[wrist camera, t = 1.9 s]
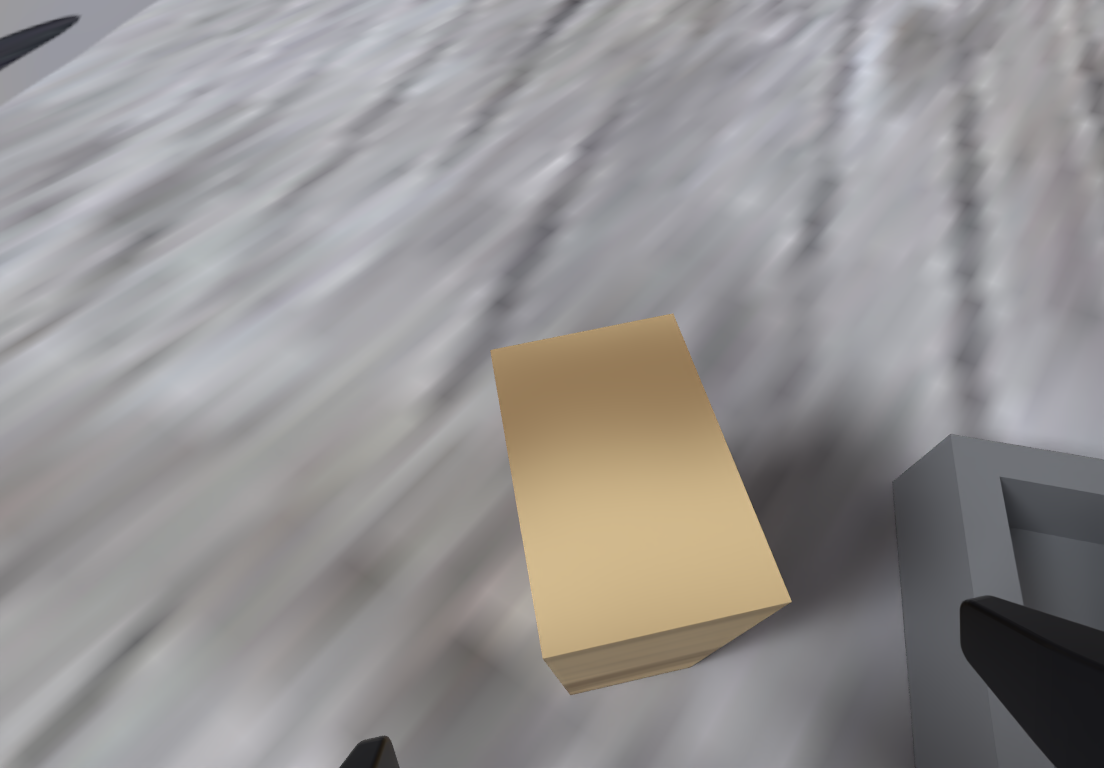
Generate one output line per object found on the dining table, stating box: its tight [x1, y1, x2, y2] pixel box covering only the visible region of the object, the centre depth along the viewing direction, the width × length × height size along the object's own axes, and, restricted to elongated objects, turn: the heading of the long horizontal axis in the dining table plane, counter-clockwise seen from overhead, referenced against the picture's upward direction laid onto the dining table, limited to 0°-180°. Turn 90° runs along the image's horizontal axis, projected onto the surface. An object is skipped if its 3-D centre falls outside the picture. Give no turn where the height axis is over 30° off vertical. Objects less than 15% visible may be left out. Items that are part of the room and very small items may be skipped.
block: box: [490, 314, 792, 695], centre depth 15 cm, size 6×4×11 cm, turn 11°
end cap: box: [893, 434, 1104, 768], centre depth 16 cm, size 10×8×4 cm
